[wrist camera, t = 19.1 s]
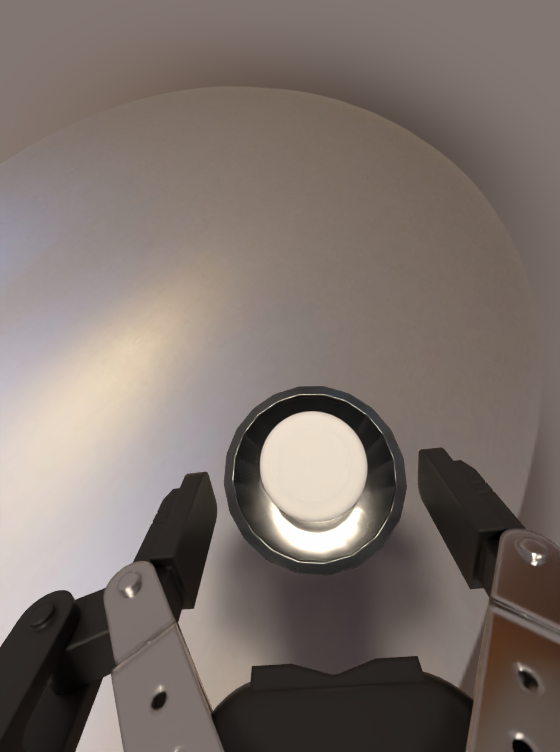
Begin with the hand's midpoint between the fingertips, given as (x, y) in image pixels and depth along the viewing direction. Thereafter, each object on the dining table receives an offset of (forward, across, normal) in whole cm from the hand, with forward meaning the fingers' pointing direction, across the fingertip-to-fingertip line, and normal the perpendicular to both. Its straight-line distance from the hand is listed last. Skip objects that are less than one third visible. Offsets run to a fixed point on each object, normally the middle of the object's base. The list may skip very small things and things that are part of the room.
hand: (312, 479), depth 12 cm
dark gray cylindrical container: (+11, 0, +10) cm, 15 cm away
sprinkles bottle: (+11, 0, +10) cm, 14 cm away
